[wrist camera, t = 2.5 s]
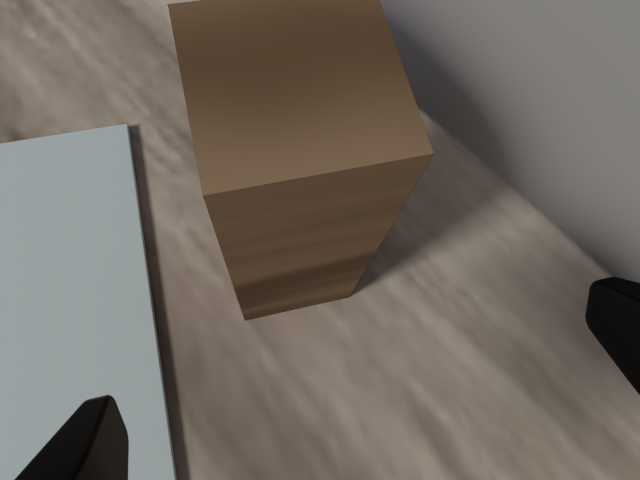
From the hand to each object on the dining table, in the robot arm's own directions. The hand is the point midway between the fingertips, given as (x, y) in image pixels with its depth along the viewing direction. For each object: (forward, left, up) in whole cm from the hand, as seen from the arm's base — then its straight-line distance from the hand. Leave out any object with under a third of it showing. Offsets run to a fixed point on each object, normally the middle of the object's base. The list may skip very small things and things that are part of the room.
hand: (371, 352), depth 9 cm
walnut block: (+5, -3, -12) cm, 13 cm away
